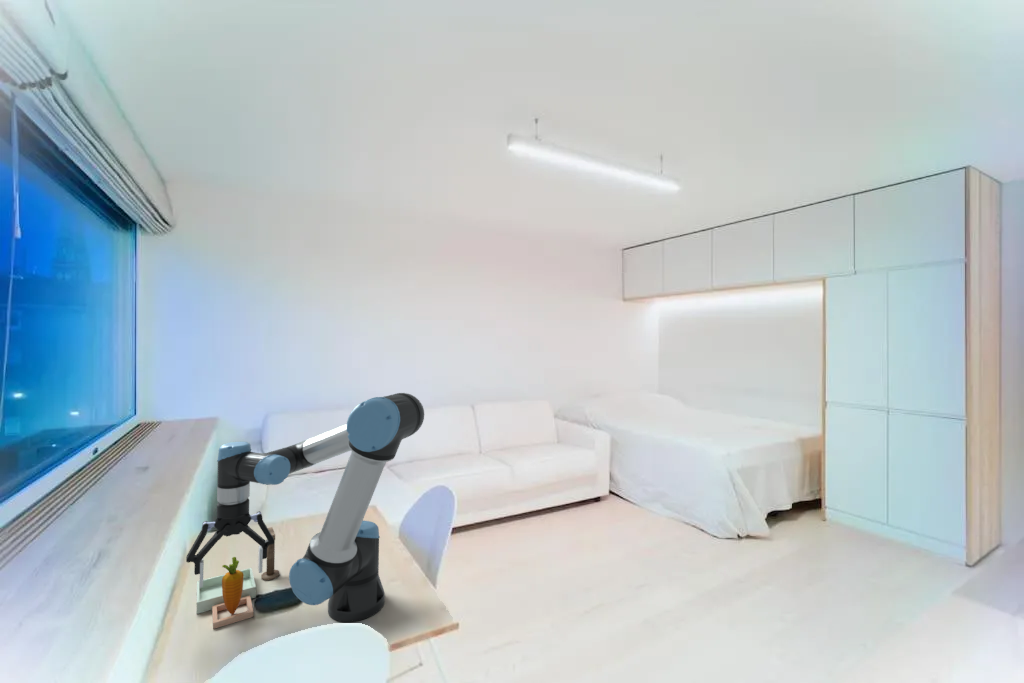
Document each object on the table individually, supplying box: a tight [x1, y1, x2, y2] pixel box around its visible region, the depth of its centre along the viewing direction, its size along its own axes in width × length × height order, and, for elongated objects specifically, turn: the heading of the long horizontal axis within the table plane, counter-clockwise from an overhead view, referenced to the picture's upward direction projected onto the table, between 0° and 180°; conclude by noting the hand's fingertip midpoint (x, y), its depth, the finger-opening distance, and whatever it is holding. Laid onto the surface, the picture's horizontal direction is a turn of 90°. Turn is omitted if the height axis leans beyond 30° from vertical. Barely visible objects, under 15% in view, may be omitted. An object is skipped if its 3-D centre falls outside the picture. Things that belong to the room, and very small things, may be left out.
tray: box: [196, 567, 257, 615], centre depth 130 cm, size 13×14×3 cm
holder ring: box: [211, 596, 254, 630], centre depth 121 cm, size 9×9×2 cm
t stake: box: [260, 526, 280, 582], centre depth 141 cm, size 8×5×14 cm, turn 35°
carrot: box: [221, 556, 243, 615], centre depth 121 cm, size 5×5×15 cm
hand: (231, 577), depth 121 cm, fingers open, 13 cm apart
